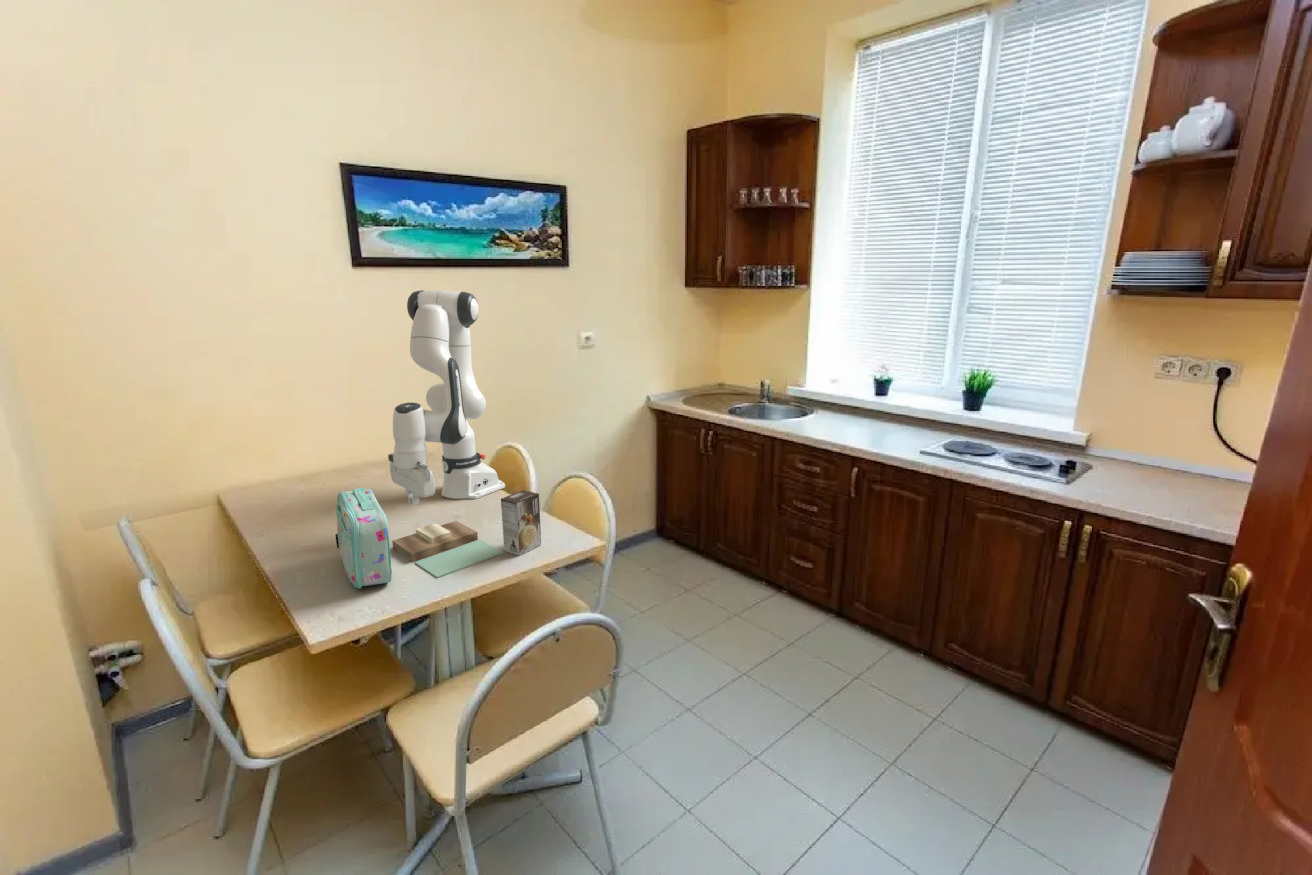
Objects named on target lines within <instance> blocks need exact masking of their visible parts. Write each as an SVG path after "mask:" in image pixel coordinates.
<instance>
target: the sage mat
mask: <svg viewBox="0 0 1312 875" xmlns="http://www.w3.org/2000/svg"><path fill="white" fill-rule="evenodd" d="M503 554H504V552H503V551H502V550H500V549H498V548H497V547H494V546H492V545H491V544H488V543H487V542H485V541H484V540H482V539H478V540H476V541H473V542H470V543H467V544H464V545H461V546H458V547H456V548H453V549H450V550H447V551H444V552H441V553H438V554H435V555H432V556H430V557H427V558H424V559H421V560H418V561H415V562H414V564H415V565H417V566H418V567H420V568H421V569H422V570H425V571H426V572H428V573H429V574H430V575H432V576H434V577H435V578H436V579H439V578H442V577H445V576H447V575H450V574H453V573H455V572H458V571H461V570H463V569H465V568H467V567H472V566H473V565H476V564H478V563H481V562H484V561H487V560H489V559H492V558H494V557H497V556H500V555H503Z"/></svg>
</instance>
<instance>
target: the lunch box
mask: <svg viewBox="0 0 1312 875" xmlns="http://www.w3.org/2000/svg"><path fill="white" fill-rule="evenodd" d="M335 513H336V528H337V529H336V532H337V533H335V535H334V536H335V543H336V549H339V553H340V558H341V562H342V564H343V566H344V567H343V568H344V572H345V574H346V576H347V579H348V580H349V582H350V583H351V585H352V586H353V588H354V589H362V587H368V586H374V585H380V584H386V583H391V581H392V576H393V570H392V556H391V546H390V534H389V525H388V518H387V515H386V513H385V512H384V510H383V509H382V507H381V505H380V503H379V502H378V500H377V498H376V496H375V494H374V491H373V490H371V489H370V488H369V489H366V488H365V487H358V488H357V487H356V488H353V489H352V490H348V491H339V493H338V495H337V502H336V505H335Z"/></svg>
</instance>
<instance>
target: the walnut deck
mask: <svg viewBox="0 0 1312 875" xmlns="http://www.w3.org/2000/svg"><path fill="white" fill-rule="evenodd" d="M440 526H441V527H443V528H445V529H447V530H448V531H450V532H451V537H449V538H446V539H443V540H440V541H437V542H434V543H431V542H429V541H428V540H426V539H424V538H423V537H421V536H419V535H418V534H417V533H413V534H409V535H407V536H404V537H403V536H402V537H400V538H397V539H396V538H395V539H393V540H391V542H392V548H393V550H394V551H396V552H397V553H399V554H400V555H401V556H403V557H405V558H407V559H408V560H409V561H411V562H412V563H415V562H416V561H419V560H422V559H425V558H428V557H431V556H434V555H437V554H439V553H442V552H445V551H448V550H451V549H454V548H457V547H460V546H462V545H465V544H468V543H471V542H474V541H477V540H479V538H478V537H479V536H478V535H479V534H478V531H477V530H475V529H472V528H470V527H469V526H468V525H465V524H463V523H461V522H459V521H457V520H455V521H450V522H448V523H445V524H441V525H440Z"/></svg>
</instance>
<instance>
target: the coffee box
mask: <svg viewBox="0 0 1312 875" xmlns="http://www.w3.org/2000/svg"><path fill="white" fill-rule="evenodd" d="M500 506H501V519H502V520H501V521H502V522H501V523H502V537H503V539H502V540H503V551H504V552H507V553H509V554H510V553H511V554H512V555H516V556H519V557H520V556H522V555H524V554H526V553H528V552H530V551H532V550H533V549H535V548H537V547H539V546H541V545H542V536H541V535H542V532H541V531H542V530H541V529H542V528H541V513H540V511H541V510H540V509H541V508H540V494H539V493H538V492H534V491H529V490H525V489H521V490H520V491H517V492H515V493H513V494H510V495H508V496H504V497H502V498H500Z"/></svg>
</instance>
